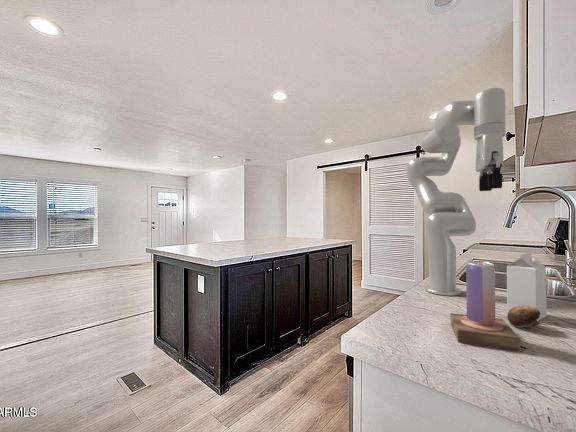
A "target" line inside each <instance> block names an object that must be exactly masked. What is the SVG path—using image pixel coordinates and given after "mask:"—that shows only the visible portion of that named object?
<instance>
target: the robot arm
mask: <svg viewBox="0 0 576 432" xmlns="http://www.w3.org/2000/svg"><path fill="white" fill-rule="evenodd" d="M473 98H474V99H471V100H455V101H454V100H453V101H451V102H449V103H447V104H446V105H445V106H444V107H442V108H441V109H440V110H439V112H437V114H436V116H435V119H434V123H433V127H434V128H433V129H432V130H431V131H429V132H428V133H427V134H426V135H425V136H424V137H423V138H422V140H421V142H420V146H421V149H422V151H424V152H425V153H428V154H441V156H422V157H421V156H420V157H415V158H412V159H411V160H410V161H408V163H407V165H406V175H407V177H406V178H407V179H408V182H409V184H410V185H411V186H412V189H414V191H415V193H416V194H417V198H418V201H419V203H420V205H421V208H422V210H423V211H424V212H425V214H426V215H428V216H427V217H426V218H425V229H426V235H427V240H428V242H427V243H428V284H427V285H425V286H424V290H425V291H426V292H428V293H431V294H434V295H440V296H448V297H449V296H451V297H453V296H454V297H455V296H459V295H461V294H462V290H461V289H460V288H458V287H457V248H456V245H455V243H454V242H453V241H452V239H451V238H450V237H465V236H466V237H468V236H471V235H473V234H474V233H475V231H476V229H477V224H476V223H477V222H476V219H475V217H474V214H473V213H472V210H471V209H470V207H469V205H468V204H467V202H466V200H465V198H464V197H463V195H461V194H460V193H459V192H458V193H457V192H449V191H447V192H444V191H443V192H442V191H440V190H439V188H438V187H439V186H437V184H436V183H435V181H434V180H433V179H431V178H429V177H441V176H442V177H443V176H445V175H447V174H449V173H450V171H451V169H452V167H453V164H454V162H455V160H456V157H457V155H458V153H459V151H460V147H461V144H462V139H461V138H462V137H461V136H460V128H459V127H460V126H473V130H474V131H473V136H474V137H473V139H474V141H476V147H475V148H476V151H475V169H474V170H475V172H476V173H479V175H478V176H479V177H478V183H479V184H478V188H479V189H478V191H479V192H491V191H492V190H493V189H502V188H503V169H502V168H503V165H504V143H503V142H504V140H503V138H504V137H505V136H506V127H507V126H506V93H505V90H504V89H503V88H501V87H491V88H486V89H484V90H482V91H479V92H478V93H477V94H476V95H475V96H474V97H473Z"/></svg>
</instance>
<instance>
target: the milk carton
mask: <svg viewBox="0 0 576 432" xmlns="http://www.w3.org/2000/svg"><path fill="white" fill-rule="evenodd" d="M519 254H520V255H519V256H520V257H519V258H517V259H515V260H514V261H512V262H510V263H509V264H507V265H506V306H507V307H506V311H507V312H506V314H507V315H508V312H509V310H510V309H512V308H513V307H516V306H529V307H534V308H536V309H538V310H539V312H540V316H539V318H538V319H537V321H538V322H540V321H541V320H543V319H544V318H546V317H547V267H546V266H545V265H544V264H543V263H541V262H542V261H541V260H540V259H538V258H537V257H534V256H533V255H532V252H531V251H529V252H524V253H519Z"/></svg>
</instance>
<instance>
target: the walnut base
mask: <svg viewBox="0 0 576 432" xmlns="http://www.w3.org/2000/svg"><path fill="white" fill-rule="evenodd" d="M449 315H450V316H449V317H450V318H449V320H450V326H451V328H452V330H453V333H454V336H455V338H456V340H457V342H458V343H461V344H468V345H469V344H470V345H475V346H481V347H489V348H495V349H503V350H510V351H515V352H521V337H519V335H518V334H517V333H516V332H515V330H513V329H512V327H511V326H510V325H508V323H507V322H506V321H505V320H504V319H503V318H496V317H495V323H494V324H493V325H491V326H483V325H478V324H474V323H472V322H470V321H469V320H468V318H467V314H462V313H453V312H450V314H449Z"/></svg>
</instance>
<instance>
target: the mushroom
mask: <svg viewBox="0 0 576 432" xmlns="http://www.w3.org/2000/svg"><path fill="white" fill-rule="evenodd" d="M539 316H540V312H539V310H538V309H536V308H534V307H529V306H516V307H513V308H512V309H510V310H509V312H508V314H507V321H508V322H509V324H510V325H511V326H513V327H515V328H524V327H528V328H529V329H531V328H534V327H537V326H539V325H541V324H542V322H540V321H537V319H538V318H539Z"/></svg>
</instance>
